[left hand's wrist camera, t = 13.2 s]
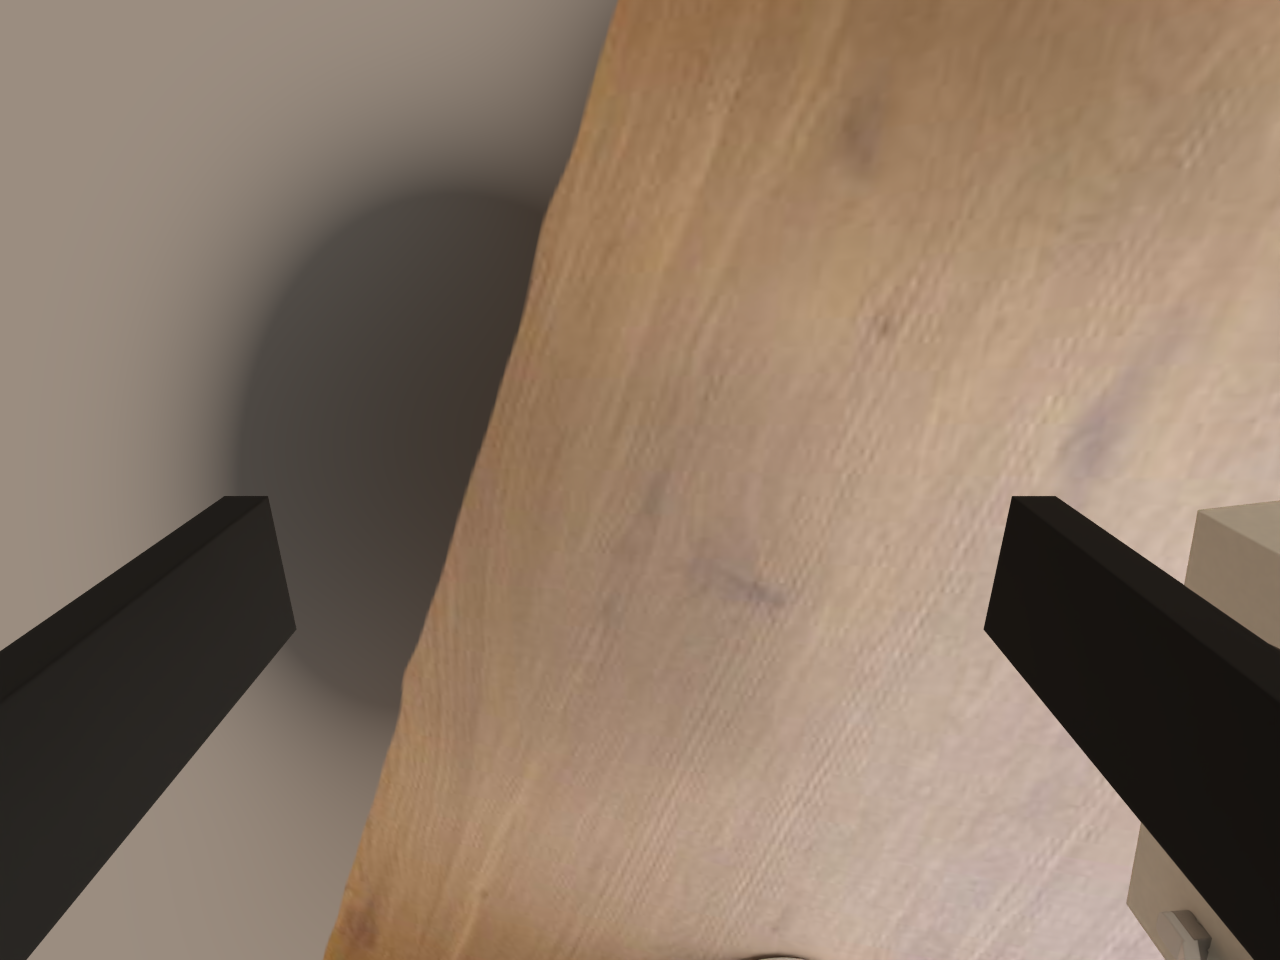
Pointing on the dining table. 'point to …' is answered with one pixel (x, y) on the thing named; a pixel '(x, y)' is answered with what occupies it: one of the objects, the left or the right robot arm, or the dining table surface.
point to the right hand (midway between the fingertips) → (1232, 912)
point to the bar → (1274, 611)
